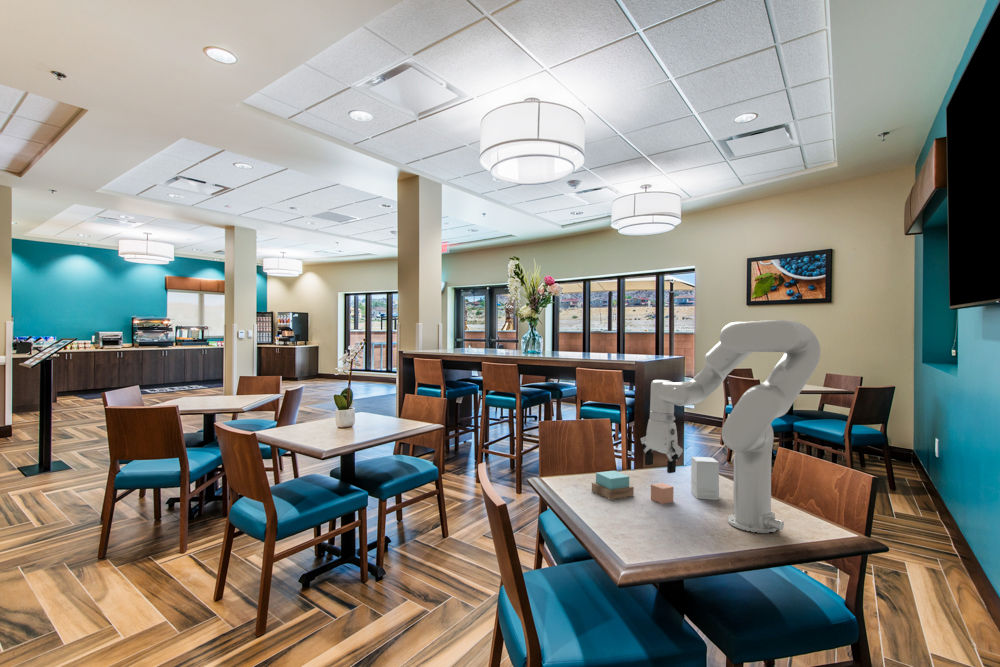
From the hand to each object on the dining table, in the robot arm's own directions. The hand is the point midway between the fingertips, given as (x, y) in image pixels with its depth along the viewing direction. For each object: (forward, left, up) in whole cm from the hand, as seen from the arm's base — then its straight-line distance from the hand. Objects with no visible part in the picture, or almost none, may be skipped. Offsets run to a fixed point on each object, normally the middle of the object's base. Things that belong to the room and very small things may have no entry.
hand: (659, 468), depth 156 cm
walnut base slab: (+12, +10, -11) cm, 19 cm away
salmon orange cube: (-1, 0, -11) cm, 11 cm away
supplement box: (-4, -17, -11) cm, 21 cm away
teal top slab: (+12, +10, -7) cm, 17 cm away
